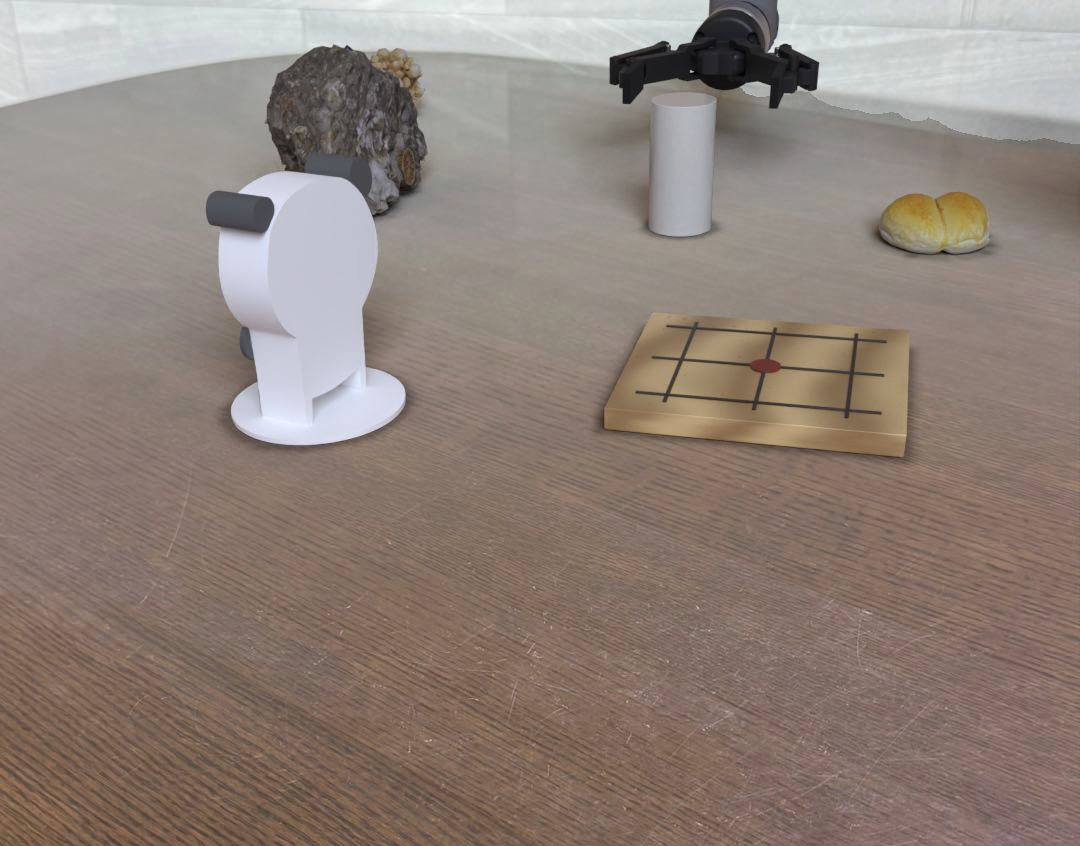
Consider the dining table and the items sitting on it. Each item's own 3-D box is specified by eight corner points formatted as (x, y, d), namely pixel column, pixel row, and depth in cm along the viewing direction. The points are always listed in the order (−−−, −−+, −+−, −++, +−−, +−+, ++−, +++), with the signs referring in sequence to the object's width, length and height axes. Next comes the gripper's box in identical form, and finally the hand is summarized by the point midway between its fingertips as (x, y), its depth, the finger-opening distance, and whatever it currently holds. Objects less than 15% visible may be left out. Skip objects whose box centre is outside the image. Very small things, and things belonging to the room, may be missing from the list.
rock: (400, 23, 103) (260, -17, 108) (328, 175, 102) (190, 127, 107) (469, 130, 120) (346, 91, 125) (409, 260, 119) (287, 216, 124)
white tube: (715, 218, 109) (721, 92, 104) (706, 238, 105) (711, 108, 99) (654, 215, 111) (657, 91, 105) (642, 235, 106) (644, 106, 100)
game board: (907, 350, 84) (910, 328, 83) (903, 457, 71) (907, 433, 70) (651, 331, 88) (651, 310, 87) (603, 429, 75) (603, 406, 74)
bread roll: (875, 225, 107) (880, 179, 104) (981, 227, 105) (988, 181, 103) (880, 256, 100) (886, 208, 98) (993, 259, 98) (1001, 210, 96)
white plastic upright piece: (308, 355, 86) (277, 141, 78) (443, 382, 81) (425, 157, 73) (195, 424, 77) (147, 190, 69) (339, 459, 73) (305, 213, 65)
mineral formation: (436, 108, 150) (384, 129, 137) (342, 122, 154) (284, 143, 142) (422, 39, 146) (368, 54, 134) (327, 55, 151) (266, 72, 139)
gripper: (846, 86, 126) (834, 138, 109) (614, 80, 132) (567, 128, 115) (854, 9, 122) (842, 50, 105) (615, 6, 128) (566, 44, 111)
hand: (699, 91), depth 110 cm, fingers open, 13 cm apart
